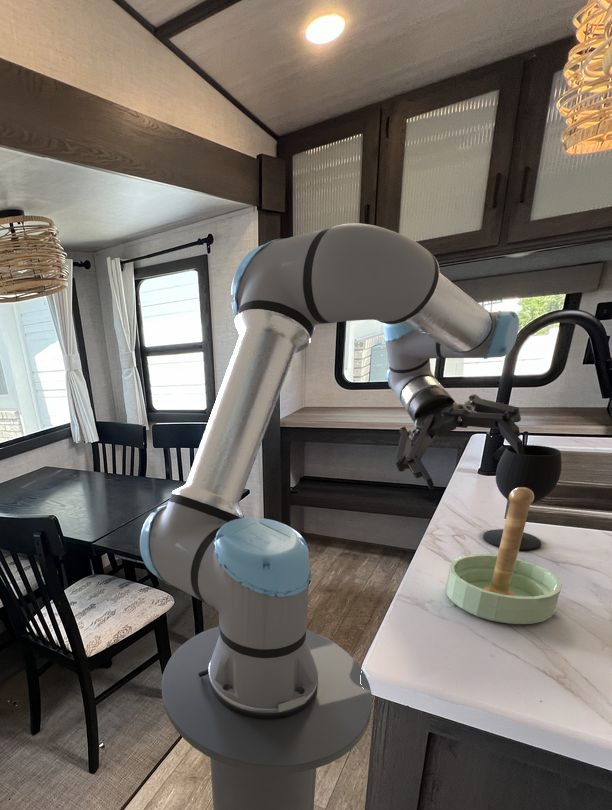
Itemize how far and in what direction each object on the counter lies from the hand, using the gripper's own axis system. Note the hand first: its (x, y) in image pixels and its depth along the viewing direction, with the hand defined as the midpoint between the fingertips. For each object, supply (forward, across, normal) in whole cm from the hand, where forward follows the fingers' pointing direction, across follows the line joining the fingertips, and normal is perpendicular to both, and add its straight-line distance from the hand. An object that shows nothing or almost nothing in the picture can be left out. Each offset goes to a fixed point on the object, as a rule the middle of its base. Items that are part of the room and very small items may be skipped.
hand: (474, 467), depth 78 cm
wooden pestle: (+13, +5, -18) cm, 23 cm away
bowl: (+14, +5, -19) cm, 24 cm away
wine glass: (-9, -4, -34) cm, 36 cm away
